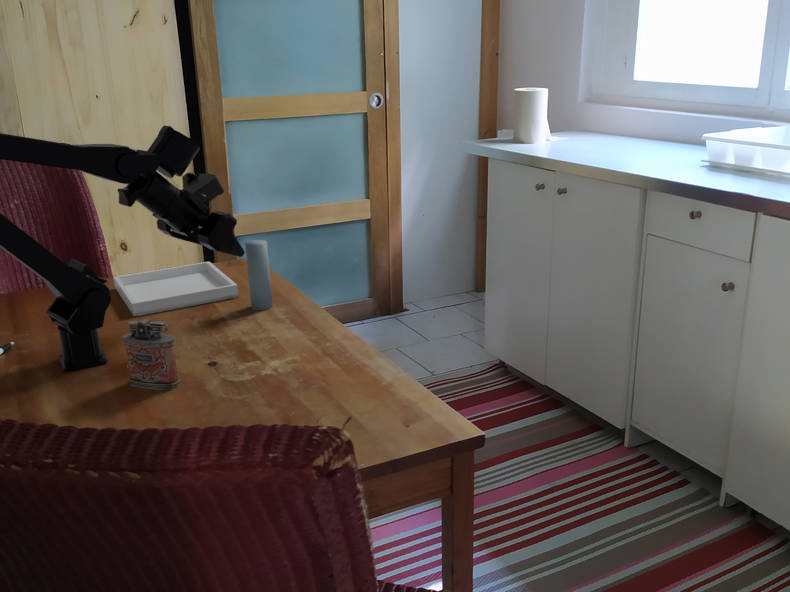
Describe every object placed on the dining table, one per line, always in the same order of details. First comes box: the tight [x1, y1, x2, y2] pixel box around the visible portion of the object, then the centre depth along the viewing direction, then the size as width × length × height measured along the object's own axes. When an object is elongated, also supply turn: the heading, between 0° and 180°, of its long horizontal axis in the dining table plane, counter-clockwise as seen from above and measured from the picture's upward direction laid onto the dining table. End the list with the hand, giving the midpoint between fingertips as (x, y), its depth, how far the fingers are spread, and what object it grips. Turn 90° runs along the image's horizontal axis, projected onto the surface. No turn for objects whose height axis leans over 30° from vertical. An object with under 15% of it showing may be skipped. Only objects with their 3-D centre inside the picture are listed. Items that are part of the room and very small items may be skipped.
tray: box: [113, 261, 240, 318], centre depth 152 cm, size 20×20×2 cm
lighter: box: [121, 318, 181, 391], centre depth 110 cm, size 8×3×10 cm, turn 73°
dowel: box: [244, 239, 273, 311], centre depth 141 cm, size 4×4×12 cm
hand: (228, 250), depth 136 cm, fingers open, 9 cm apart
